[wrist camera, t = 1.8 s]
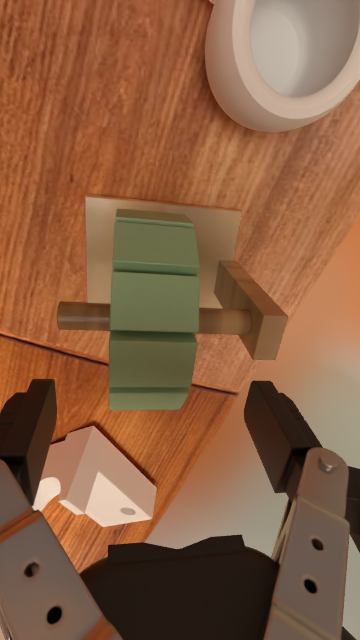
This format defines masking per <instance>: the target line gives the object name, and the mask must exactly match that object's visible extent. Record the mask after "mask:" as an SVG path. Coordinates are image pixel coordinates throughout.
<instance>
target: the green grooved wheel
mask: <svg viewBox="0 0 360 640" xmlns="http://www.w3.org/2000/svg"><path fill="white" fill-rule="evenodd" d="M193 225H194V224H193V223H192V221H191V220H190V219H189V218H188V217H187V216H186V215H183V214H172V213H162V212H151V211H140V210H130V209H119V208H118V209H117V212H116V217H115V228H114V243H113V258H112V278H111V304H110V338H109V409H110V410H178V409H181V407H182V405H183V403H184V401H185V400H186V398H187V396H188V394H189V387H191V382H192V376H193V370H194V363H195V357H196V351H197V345H198V343H197V340H196V337H195V334H194V333H197V332H198V331H199V295H200V277H198V276H197V273H198V270H199V267H200V266H199V258H198V250H197V242H196V234H195V229H194V228H193Z"/></svg>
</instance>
